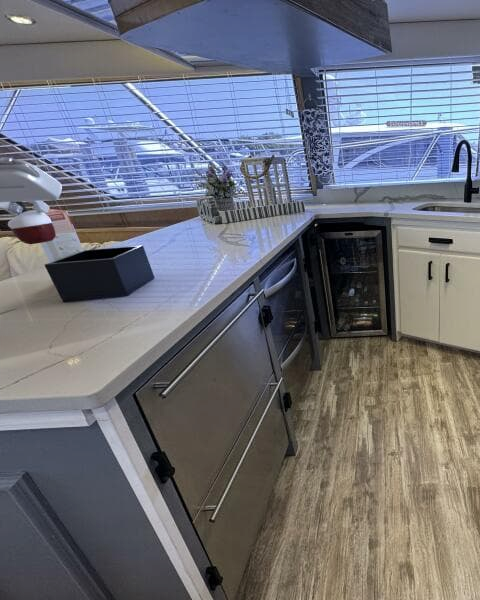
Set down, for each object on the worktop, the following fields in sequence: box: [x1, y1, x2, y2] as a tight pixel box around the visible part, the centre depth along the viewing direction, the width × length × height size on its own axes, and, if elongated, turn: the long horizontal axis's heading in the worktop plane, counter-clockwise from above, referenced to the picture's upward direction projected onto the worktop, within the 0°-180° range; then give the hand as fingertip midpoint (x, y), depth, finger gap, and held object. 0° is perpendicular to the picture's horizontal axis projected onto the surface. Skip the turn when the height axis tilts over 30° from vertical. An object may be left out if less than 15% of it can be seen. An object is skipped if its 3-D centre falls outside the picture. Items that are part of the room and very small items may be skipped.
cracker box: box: [39, 208, 85, 263], centre depth 92 cm, size 14×6×21 cm, turn 58°
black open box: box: [44, 245, 156, 304], centre depth 87 cm, size 15×15×10 cm
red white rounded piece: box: [7, 201, 56, 245], centre depth 67 cm, size 10×6×12 cm, turn 34°
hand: (31, 210), depth 68 cm, fingers closed on red white rounded piece, 4 cm apart
